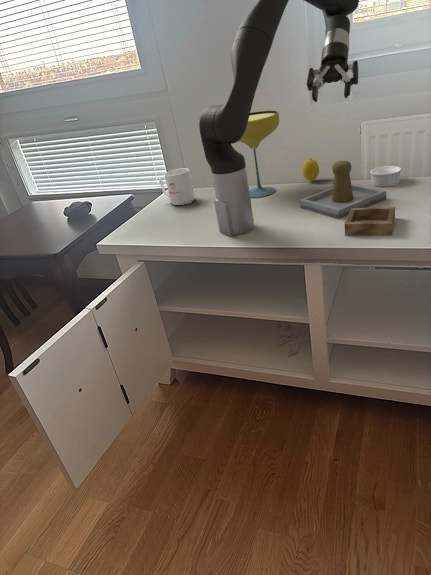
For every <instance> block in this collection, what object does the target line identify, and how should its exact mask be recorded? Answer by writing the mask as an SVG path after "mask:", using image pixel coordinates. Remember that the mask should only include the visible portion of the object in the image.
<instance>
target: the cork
mask: <svg viewBox="0 0 431 575" xmlns="http://www.w3.org/2000/svg"><path fill="white" fill-rule="evenodd" d="M331 170H332V174H334V177H333V186H332V187H333V196H332V201H333V202H335V203H346V202H350V201H352V200H353V199H354V198H353V192H352V186H351V184H352V180H351V175H350V173H351V171H352V164H351V162H350V161H348V160H339V161H335V162H334V163H332V167H331Z"/></svg>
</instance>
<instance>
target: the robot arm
mask: <svg viewBox="0 0 431 575" xmlns="http://www.w3.org/2000/svg"><path fill="white" fill-rule="evenodd" d="M303 1H304V2H306V3H308V4H310V5H311V6H313V7H314V8H316V9H318V10H320V11H322V14H323V18H324V24H325V31H324V33H325V34H324V39H323V43H322V50H321V61H320V66H319V68H318V69H314V68H313V67H311V68H308V69H309V70H308V74H307V79H306V86H307V87H306V88H307V90H308V92H310V91H311V98H312V101H313V102H314V103H317V102H318V99H319V98H318V97H319V90H320V89H321V88H323V87H324V86H325V85H326V84H331V83H338V82H339V81H340V82H341V83H342V84H344V91H343V95H344V99H347V98H348V97H349V96H351V89H352V88H351V87H352V86H353V85H358V84H359V62H358V61H357V60H355V61H353V63H350V64H349V63H348V62H349V61H348V60H349V52H350V33H351V32H350V31H351V30H350V29H351V21H350V18H349V17H348V16H349V15H351V14H352V13H353V12H355V11H356V10H357V9H358V7H359V4H360V0H303ZM288 4H289V0H258V1H257V2H256V3H255V4H254V6H252V8H251V9H250V10H249V11H248V12H247V14H246V15H245V16H244V18H243V19H242V21H241V23H240V25H239V27H238V30H237V33H236V34H235V37H234V40H233V44H232V47H231V52H230V63H231V69H232V75H233V76H232V77H233V80H232V81H233V82H232V85H231V88H230V91H229V95H228V98H227V100H226V101H225V103H224V104H214V105H210V106H209V105H208V106H206V108H204V109H203V110H202V111H201V113H200V116H199V123H198V125H199V126H198V128H199V133H200V134H199V135H200V138H201V143H202V147H203V151H204V152H203V153H204V155H205V156H204V157H205V159H206V162H207V164H208V165H209V167H210V172H211V177H212V181H213V182H212V183H213V186H214V191H215V197H216V199H214V200H213V203H214V207H215V208H214V209H215V214H216V217H217V218H216V220H217V224H218V225H217V226H218V229H219V232H220V233H222V234H225V235H226V236H229V237H232V236H238V235H243V234H247V233H248V232H251V231H252V230H254V229H255V222H254V214H253V207H252V200H251V199H252V198H250V193H249V190H250V187H249V180H248V174H247V167H246V166H247V165H246V159H245V157H244V155H243V154H242V153H240V152H239V151H237V150H236V149H235V148H234V147H233V144H237V143H238V142H240V141H239V140H240V139H241V138H242V136H243V134H244V132H245V130H246V127H247V123H248V119H249V115H250V113H251V111H252V107H253V102H254V98H255V95H256V93H257V92H256V91H257V89H258V86H259V82H260V79H261V77H262V73H263V69H264V67H265V64H266V62H267V60H268V56H269V55H270V52H271V48H272V45H273V42H274V38H275V37H276V32H277V30H278V28H279V25H280V22H281V20H282V17H283V15H284V12H285V10H286V7H287V5H288ZM349 70H350V72H351V73H352V77H349V76H348V74H347V73H348V72H349Z"/></svg>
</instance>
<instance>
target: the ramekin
mask: <svg viewBox="0 0 431 575" xmlns="http://www.w3.org/2000/svg"><path fill="white" fill-rule="evenodd" d="M401 172H402V168H401V167H399V166H397V165H396V166H395V165H385V166H379V167H378V166H377V167H374V168H373V169H371V170H370V172H369V173H370V177H371V179H370V180H371V185H372V186H373V187H377V188H388V187H393V185H394V186H396V185H398V184H399V182H400V180H401V179H400V178H401Z"/></svg>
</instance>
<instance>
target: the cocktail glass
mask: <svg viewBox="0 0 431 575" xmlns="http://www.w3.org/2000/svg"><path fill="white" fill-rule="evenodd" d="M279 125H280V114H279V112H278V111H277V110H262V111H254V112H250V115H249V119H248V123H247V127H246V130H245V132H244V134H243V136H242V138H241V139H240V140H239V141H238V142H241V143H243V144H245V145H247V146H248V147H249V148H250V149H251V150H253V156H254V164H255V171H256V181H257V184H256V187H255V188H252V189H249V193H250V199H260V198H265V197H269V196H272V195H273V194H274V193H275V192H276V188H275V187H272V186H262V185H261V180H260V175H259V166H258V158H257V153H256V152H257V151H256V149H258V147H259V146H260V143H261V142H262V141H263V140H265V139H266V138H267V137H268V136H270V135H271V134H273V133H274V132H275V130H276V129H277V128H278V127H279Z"/></svg>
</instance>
